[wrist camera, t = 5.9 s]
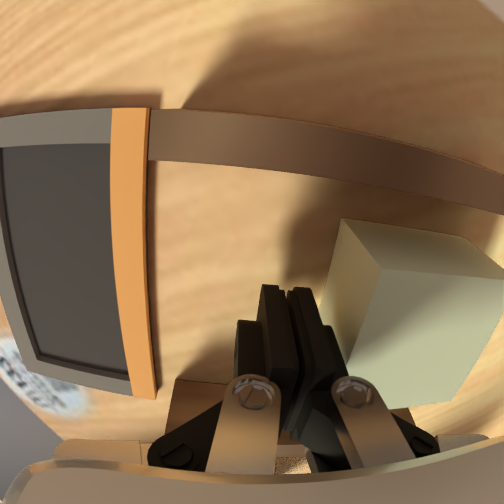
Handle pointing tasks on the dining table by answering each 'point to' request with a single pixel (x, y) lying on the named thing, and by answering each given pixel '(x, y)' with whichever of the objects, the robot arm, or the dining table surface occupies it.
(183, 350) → the dining table surface
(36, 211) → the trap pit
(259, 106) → the dining table surface
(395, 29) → the dining table surface
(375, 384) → the block
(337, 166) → the brown parallel walls
